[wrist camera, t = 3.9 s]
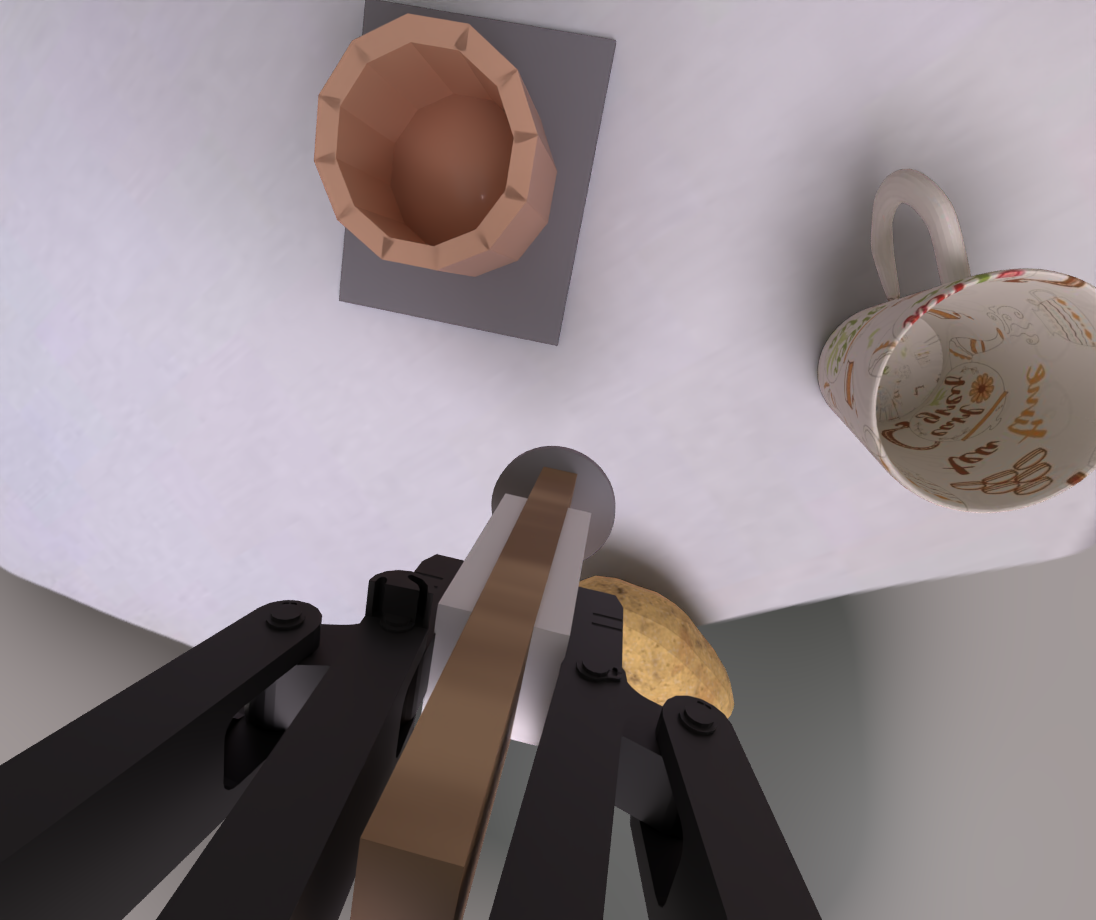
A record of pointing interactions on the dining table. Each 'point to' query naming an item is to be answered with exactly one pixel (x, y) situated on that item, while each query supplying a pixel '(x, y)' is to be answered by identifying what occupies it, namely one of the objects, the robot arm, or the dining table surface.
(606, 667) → the robot arm
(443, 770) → the long wooden stick
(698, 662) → the potato
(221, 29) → the dining table surface
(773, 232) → the dining table surface
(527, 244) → the jar
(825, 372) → the mug
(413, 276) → the mat
